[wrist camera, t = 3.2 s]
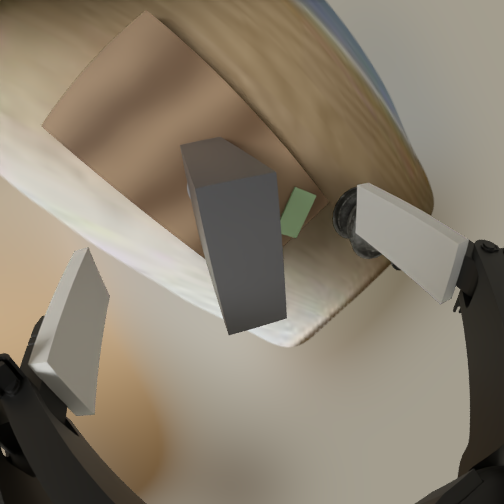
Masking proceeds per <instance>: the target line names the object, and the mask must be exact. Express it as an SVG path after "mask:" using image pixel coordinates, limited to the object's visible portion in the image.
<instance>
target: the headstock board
mask: <svg viewBox="0 0 504 504" xmlns="http://www.w3.org/2000/svg"><path fill="white" fill-rule="evenodd" d="M41 126H42V127H43V128H44V129H45V130H46V131H48V132H49V133H50V134H51V135H52V136H53V137H55V138H56V139H57V140H58V141H59V142H60V143H61V144H63V145H64V146H65V147H66V148H67V149H68V150H70V151H71V152H72V153H73V154H74V155H76V156H77V157H78V158H79V159H80V160H81V161H83V162H84V163H85V164H86V165H87V166H89V167H90V168H91V169H92V170H93V171H95V172H96V173H97V174H98V175H99V176H101V177H102V178H103V179H104V180H105V181H107V182H108V183H109V184H110V185H112V186H113V187H114V188H115V189H116V190H118V191H119V192H120V193H121V194H123V195H124V196H125V197H126V198H128V199H129V200H130V201H131V202H133V203H134V204H135V205H136V206H138V207H139V208H140V209H141V210H143V211H144V212H145V213H146V214H148V215H149V216H150V217H151V218H153V219H154V220H155V221H157V222H158V223H159V224H160V225H162V226H163V227H164V228H165V229H167V230H168V231H169V232H171V233H172V234H173V235H174V236H176V237H177V238H178V239H180V240H181V241H182V242H184V243H185V244H186V245H187V246H189V247H190V248H191V249H193V250H194V251H195V252H197V253H198V254H199V255H201V256H202V257H203V258H205V255H204V252H203V248H202V245H201V241H200V238H199V234H198V230H197V225H196V221H195V216H194V212H193V207H192V202H191V199H190V197H189V195H188V191H187V179H186V174H185V169H184V164H183V159H182V153H181V148H180V145H182V144H187V143H191V142H196V141H201V140H206V139H211V138H216V137H222V138H223V139H225V140H227V141H228V142H230V143H232V144H233V145H235V146H236V147H238V148H240V149H241V150H243V151H244V152H246V153H248V154H249V155H251V156H252V157H254V158H256V159H257V160H259V161H260V162H262V163H263V164H265V165H266V166H268V167H269V168H271V169H272V170H274V171H276V175H277V186H278V197H279V209H280V217H281V215H282V213H283V211H284V209H285V206H286V204H287V202H288V200H289V198H290V195H291V193H292V191H293V189H294V187H297V188H299V189H302V190H304V191H307V192H309V193H312V194H314V195H316V198H315V200H314V202H313V204H312V206H311V209H310V211H309V213H308V215H307V217H306V219H305V221H304V223H303V225H302V227H301V229H302V228H303V227H304V226H305V225H306V224H307V223H308V222H309V221H310V220H311V219H312V218H314V217H315V216H316V215H317V214H318V213H319V212H320V211H321V210H322V209H323V208H324V207H325V206H326V205H327V204H328V203H329V201H328V200H327V198H326V197H325V196H324V194H323V193H322V192H321V191H320V189H319V188H318V187H317V185H316V184H315V183H314V182H313V180H312V179H311V178H310V176H309V175H308V174H307V173H306V171H305V170H304V169H303V168H302V167H301V165H300V164H299V163H298V162H297V160H296V159H295V158H294V157H293V156H292V154H291V153H290V152H289V151H288V150H287V148H286V147H285V146H284V145H283V144H282V143H281V141H280V140H279V139H278V138H277V137H276V136H275V134H274V133H273V132H272V131H271V130H270V129H269V128H268V126H267V125H266V124H265V123H264V122H263V121H262V120H261V119H260V118H259V116H258V115H257V114H256V113H255V112H254V111H253V110H252V109H251V108H250V107H249V106H248V105H247V103H246V102H245V101H244V100H243V99H242V98H241V97H240V96H239V95H238V94H237V93H236V92H235V91H234V90H233V89H232V88H231V87H230V86H229V85H228V84H227V83H226V82H225V81H224V80H223V79H222V78H221V77H220V76H219V75H218V74H217V73H216V72H215V71H214V70H213V69H212V68H211V67H210V66H209V65H208V64H207V63H206V62H205V61H204V60H203V59H202V58H201V57H200V56H199V55H198V54H197V53H195V52H194V51H193V50H192V49H191V48H190V47H189V46H188V45H187V44H186V43H185V42H183V41H182V40H181V39H180V38H179V37H178V36H177V35H176V34H174V33H173V32H172V31H171V30H170V29H169V28H167V27H166V26H165V25H164V24H163V23H162V22H160V21H159V20H158V19H157V18H156V17H154V16H153V15H152V14H151V13H149V12H148V11H147V10H145V11H144V12H143V13H141V14H140V15H139V16H138V17H137V18H135V19H134V20H133V21H132V22H131V23H130V24H129V25H127V26H126V27H125V28H124V29H123V30H122V31H121V32H120V33H119V34H118V35H117V36H116V37H114V38H113V39H112V40H111V41H110V42H109V43H108V44H107V45H106V46H105V47H104V48H103V49H102V50H101V51H100V52H99V54H98V55H97V56H96V57H95V58H94V59H93V60H92V61H91V62H90V63H89V64H88V65H87V67H86V68H85V69H84V70H83V71H82V72H81V73H80V75H79V76H78V77H77V78H76V79H75V81H74V82H73V83H72V84H71V85H70V87H69V88H68V89H67V90H66V92H65V93H64V94H63V96H62V97H61V98H60V100H59V101H58V102H57V104H56V105H55V106H54V108H53V109H52V110H51V112H50V113H49V115H48V116H47V118H46V119H45V121H44V122H43V124H42V125H41ZM281 235H282V247H283V246H284V245H285V244H286V243H287V242H288V241H289V240H290V239H291V238H293V237H290V236H287V235H283V234H281Z"/></svg>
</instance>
